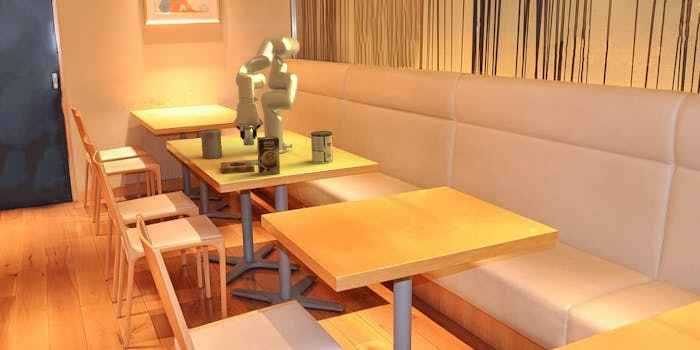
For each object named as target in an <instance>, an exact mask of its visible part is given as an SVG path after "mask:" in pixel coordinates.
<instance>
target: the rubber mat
mask: <svg viewBox="0 0 700 350" xmlns="http://www.w3.org/2000/svg"><path fill="white" fill-rule="evenodd" d="M242 161H252V163H253V165H254V166H255V165H257V166H258V159H247V160H244V159H243V160H242Z"/></svg>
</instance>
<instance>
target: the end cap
mask: <svg viewBox="0 0 700 350" xmlns="http://www.w3.org/2000/svg"><path fill="white" fill-rule="evenodd" d="M243 134H244V139H243V145H244V146H254V145H255V139H254V126H253V125H243Z"/></svg>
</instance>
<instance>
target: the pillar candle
mask: <svg viewBox="0 0 700 350" xmlns="http://www.w3.org/2000/svg"><path fill="white" fill-rule="evenodd" d="M221 134H222V133H221V129H219V128H211V127H210V128H207V129H202V130H201V131H200V137H201V138H200V139H201V151H202V159H205V160H213V159H221V158H222V157H223V151H222V150H223V149H222V136H221Z"/></svg>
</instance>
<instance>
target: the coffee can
mask: <svg viewBox="0 0 700 350" xmlns="http://www.w3.org/2000/svg"><path fill="white" fill-rule="evenodd" d="M310 138H311V139H310V140H311V141H310V142H311V163H314V164H329V163H330V164H331V163H332V162H334V158H333V157H334V156H333V155H334V154H333V132H332V131H328V130H317V131H312V132H310Z"/></svg>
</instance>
